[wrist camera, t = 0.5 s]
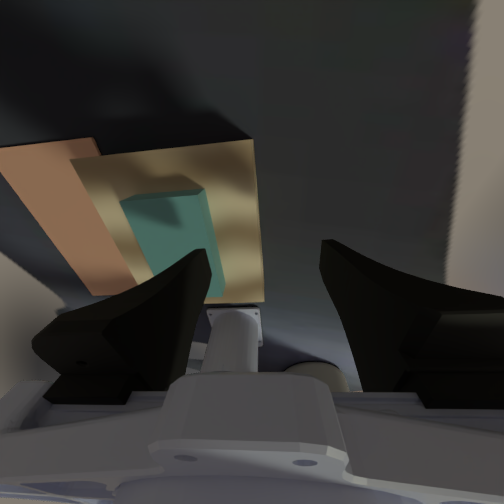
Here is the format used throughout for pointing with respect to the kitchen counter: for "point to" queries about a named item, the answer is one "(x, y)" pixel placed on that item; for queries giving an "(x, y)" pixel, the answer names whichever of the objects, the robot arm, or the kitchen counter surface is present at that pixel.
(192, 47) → the kitchen counter surface
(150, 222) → the teal rectangular block
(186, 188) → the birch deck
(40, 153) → the terracotta mat
